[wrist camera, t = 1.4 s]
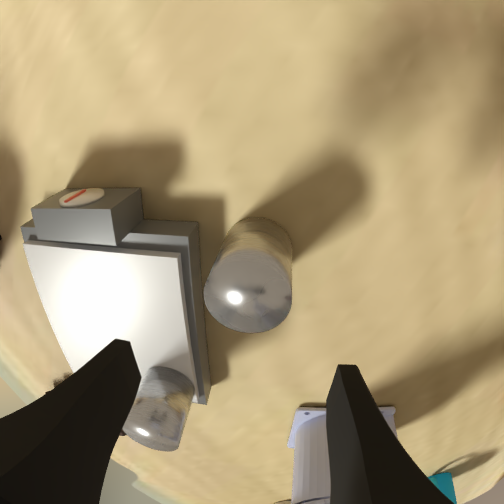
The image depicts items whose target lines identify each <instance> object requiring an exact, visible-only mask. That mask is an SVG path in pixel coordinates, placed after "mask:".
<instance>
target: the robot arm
mask: <svg viewBox="0 0 504 504" xmlns="http://www.w3.org/2000/svg"><path fill="white" fill-rule="evenodd" d="M141 378H142V377H141V374H140V371H139V368H138V365H137V362H136V359H135V356H134V353H133V349H132V346H131V343H130V341H126V340H121V339H114V340H113V341H112V342H111V343H109V344H108V345H107V346H106V347H105V348H103V349H102V350H101V351H100V352H99V353H98V354H96V355H95V356H94V357H93V358H92V359H90V360H89V361H88V362H87V363H86V364H85V365H83V366H82V367H81V368H80V369H78V370H77V371H76V372H75V373H74V374H72V375H71V376H70V377H68V378H67V379H66V380H64V381H63V382H62V383H61V384H59V385H58V386H57V387H55V388H54V389H53V390H51V391H50V392H48V393H47V394H45V395H44V396H42V397H41V398H39V399H37V400H36V401H34V402H32V403H31V404H29V405H27V406H25V407H23V408H21V409H20V410H17V411H16V412H14V413H12V414H10V415H7V416H5V417H3V418H0V504H99V501H100V495H101V490H102V486H103V482H104V478H105V474H106V470H107V467H108V463H109V460H110V456H111V454H112V451H113V448H114V446H115V443H116V441H117V439H118V437H119V435H120V432H121V430H122V428H123V426H124V424H125V421H126V419H127V417H128V415H129V413H130V410H131V408H132V406H133V404H134V401H135V398H136V395H137V392H138V389H139V385H140V382H141ZM395 412H396V409H395V407H378V406H377V404H376V403H375V401H374V399H373V397H372V395H371V393H370V391H369V389H368V387H367V385H366V383H365V381H364V379H363V377H362V375H361V373H360V371H359V369H358V367H357V366H356V365H342V364H338V366H337V369H336V373H335V376H334V379H333V382H332V385H331V388H330V391H329V394H328V397H327V400H326V408H312V407H299V408H297V409H296V412H295V416H294V420H293V424H292V428H291V432H290V436H289V439H288V443H287V447H289V448H295V449H294V468H293V485H292V501H291V504H454V503H453V502H452V501H451V500H450V499H449V498H448V497H447V496H445V495H444V494H443V493H442V492H441V491H440V490H439V489H438V488H437V487H436V486H435V485H434V484H433V483H432V482H431V480H430V479H429V478H428V477H427V476H426V475H425V474H424V473H423V472H422V471H421V470H420V468H419V467H418V466H417V465H416V464H415V462H414V461H413V460H412V458H411V457H410V456H409V455H408V453H407V452H406V451H405V449H404V448H403V446H402V445H401V444H400V442H399V441H398V438H397V432H396V427H395V422H394V417H393V415H394V413H395Z"/></svg>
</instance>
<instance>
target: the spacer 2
mask: <svg viewBox="0 0 504 504" xmlns="http://www.w3.org/2000/svg"><path fill="white" fill-rule="evenodd" d="M204 301H205V304H206V307H207V309H208V311H209V312H210V314H211V315H212V316H213V317H214V318H215V319H216V320H217V321H218V322H220V323H221V324H222V325H224V326H226V327H228V328H230V329H233V330H235V331H239V332H245V333H258V332H264V331H267V330H270V329H272V328H274V327H276V326H277V325H279V324H280V323H281V322H282V321H283V320H284V319H285V318H286V317H287V315H288V313H289V311H290V309H291V304H292V243H291V240H290V238H289V235H288V234H287V232H286V231H285V230H284V229H283V228H282V227H281V226H280V225H279V224H277V223H276V222H274V221H272V220H269V219H266V218H261V217H252V218H247V219H244V220H241V221H239V222H238V223H236V224H235V225H234V226H233V227H232V228H231V229H230V230H229V231H228V233H227V235H226V237H225V239H224V242H223V244H222V246H221V249H220V251H219V253H218V255H217V258H216V260H215V262H214V265H213V267H212V269H211V271H210V274H209V276H208V278H207V281H206V283H205V286H204Z"/></svg>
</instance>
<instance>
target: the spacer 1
mask: <svg viewBox="0 0 504 504" xmlns="http://www.w3.org/2000/svg"><path fill="white" fill-rule="evenodd" d="M194 394H195V386H194V384H193V382H192V381H191V380H190V379H189V378H188V377H187V376H185V375H184V374H182V373H181V372H179V371H177V370H174V369H172V368H168V367H163V366H155V367H151V368H149V369H148V370H147V371H146V373H145V375H144V377H143V379H142V381H141V384H140V386H139V389H138V392H137V395H136V398H135V401H134V404H133V406H132V408H131V410H130V413H129V415H128V417H127V419H126V421H125V424H124V426H123V428H122V429H123V431H124V432H125V433H126V434H127V435H128V436H129V437H130V438H132V439H133V440H134V441H136V442H138V443H140V444H142V445H144V446H146V447H149V448H152V449H155V450H160V451H174V450H176V449H178V447H179V443H180V440H181V437H182V433H183V430H184V427H185V423H186V420H187V417H188V413H189V410H190V407H191V403H192V400H193V397H194Z"/></svg>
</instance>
